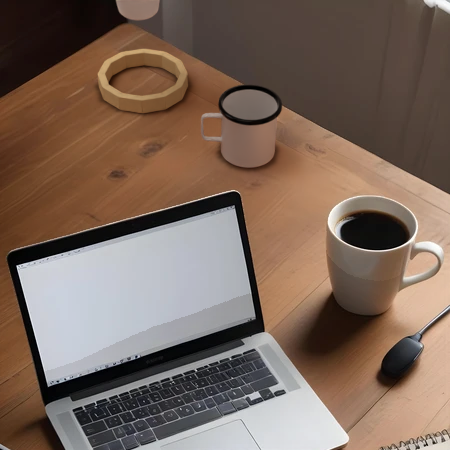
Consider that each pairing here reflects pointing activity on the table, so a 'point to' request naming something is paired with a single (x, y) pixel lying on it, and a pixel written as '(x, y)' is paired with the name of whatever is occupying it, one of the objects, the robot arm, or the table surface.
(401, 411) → the table surface
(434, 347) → the table surface
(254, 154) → the mug
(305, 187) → the table surface
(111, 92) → the tan faceted ring
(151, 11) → the cup
